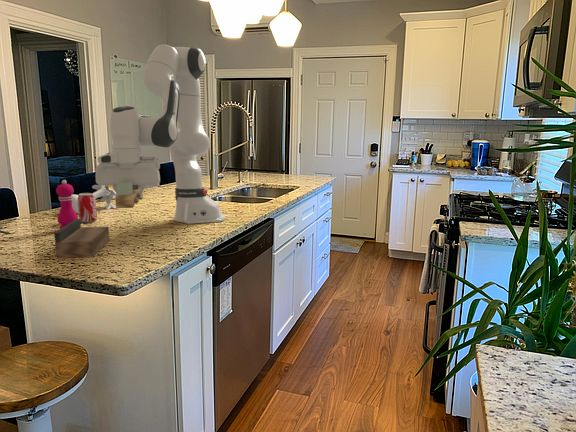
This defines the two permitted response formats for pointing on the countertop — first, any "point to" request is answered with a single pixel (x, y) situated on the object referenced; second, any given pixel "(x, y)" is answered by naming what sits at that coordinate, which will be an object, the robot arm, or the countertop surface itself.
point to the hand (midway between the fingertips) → (130, 198)
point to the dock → (80, 240)
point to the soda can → (87, 207)
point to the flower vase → (99, 193)
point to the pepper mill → (65, 204)
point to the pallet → (128, 199)
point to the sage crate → (124, 188)
